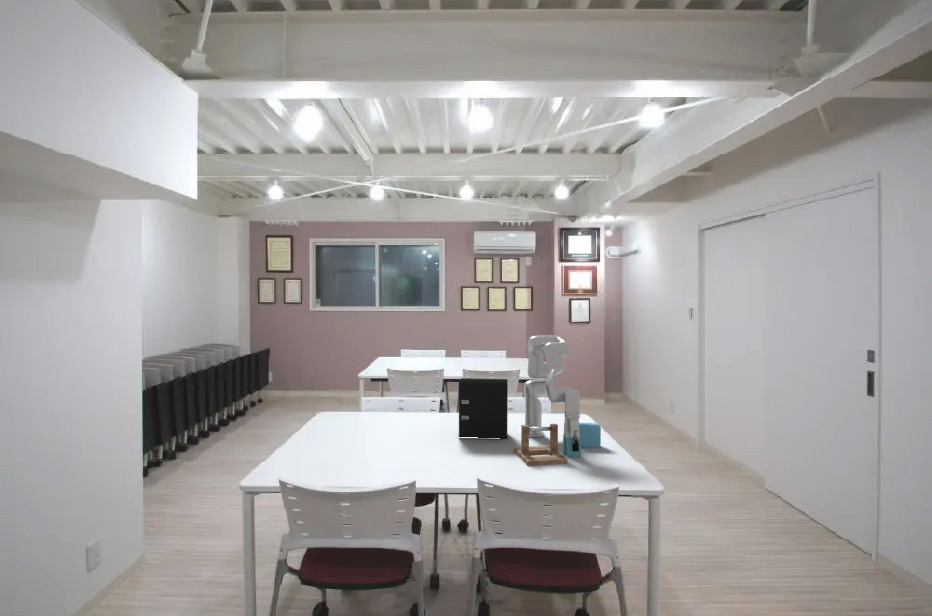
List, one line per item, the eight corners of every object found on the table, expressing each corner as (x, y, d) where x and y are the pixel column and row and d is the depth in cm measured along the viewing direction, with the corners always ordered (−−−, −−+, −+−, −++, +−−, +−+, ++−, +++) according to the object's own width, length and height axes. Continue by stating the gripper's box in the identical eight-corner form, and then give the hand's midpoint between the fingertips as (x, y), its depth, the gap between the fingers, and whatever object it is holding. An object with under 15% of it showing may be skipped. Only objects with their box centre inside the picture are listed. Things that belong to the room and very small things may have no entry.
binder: (507, 433, 313) (507, 379, 313) (507, 440, 298) (507, 383, 298) (461, 432, 316) (461, 378, 315) (458, 439, 301) (458, 382, 300)
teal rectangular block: (563, 453, 273) (563, 433, 272) (576, 453, 274) (576, 433, 274) (567, 457, 267) (567, 437, 266) (580, 456, 268) (580, 436, 268)
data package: (599, 445, 289) (599, 423, 288) (600, 447, 284) (600, 425, 284) (576, 444, 289) (576, 422, 289) (577, 447, 285) (578, 424, 285)
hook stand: (513, 451, 277) (513, 420, 277) (550, 449, 281) (550, 418, 280) (527, 465, 254) (527, 431, 253) (567, 463, 257) (567, 430, 257)
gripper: (558, 411, 278) (558, 444, 278) (571, 418, 261) (571, 453, 261) (572, 411, 279) (572, 443, 279) (586, 418, 262) (585, 453, 262)
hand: (572, 448), depth 270 cm, fingers open, 9 cm apart
